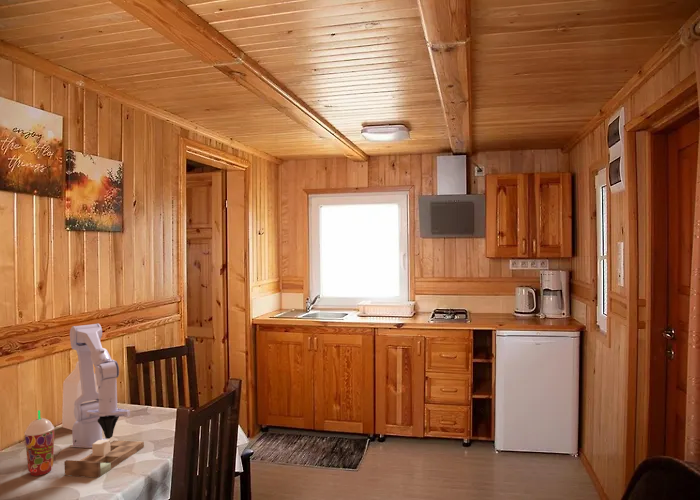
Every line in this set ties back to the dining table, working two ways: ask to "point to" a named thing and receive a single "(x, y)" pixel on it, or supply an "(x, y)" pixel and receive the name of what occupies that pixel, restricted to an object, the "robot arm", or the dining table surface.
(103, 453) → the block
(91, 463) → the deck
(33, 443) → the smoothie
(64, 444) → the dining table surface
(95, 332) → the robot arm
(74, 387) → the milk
